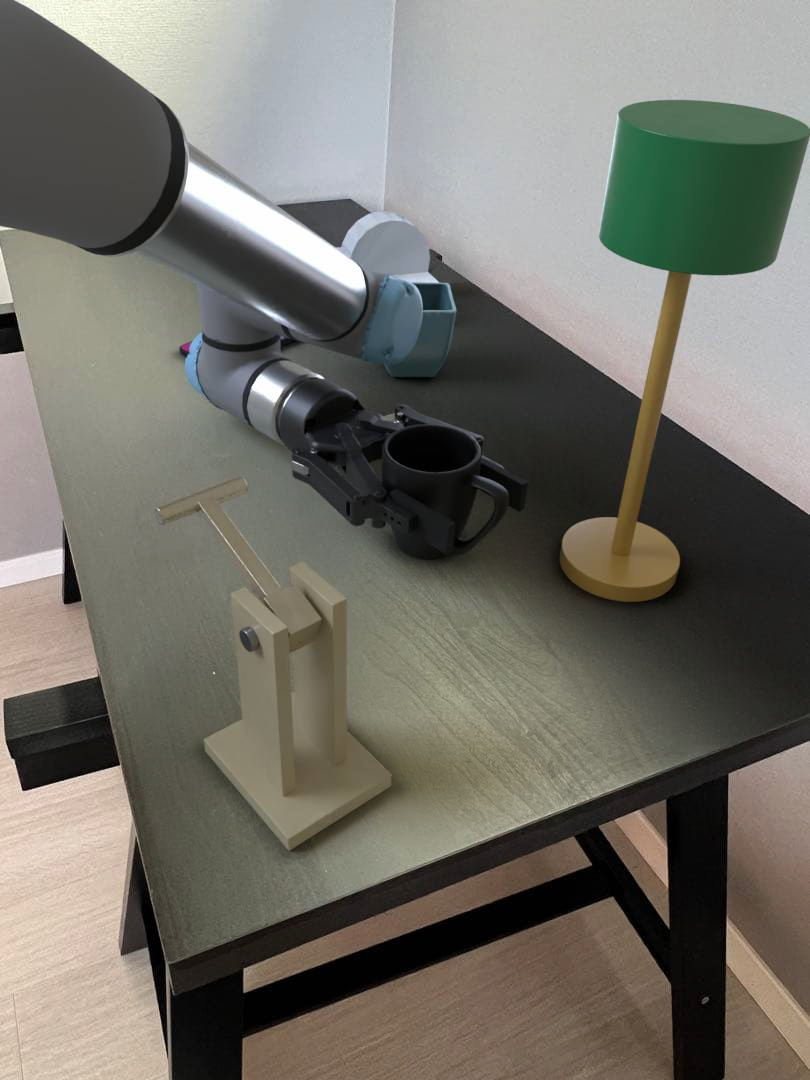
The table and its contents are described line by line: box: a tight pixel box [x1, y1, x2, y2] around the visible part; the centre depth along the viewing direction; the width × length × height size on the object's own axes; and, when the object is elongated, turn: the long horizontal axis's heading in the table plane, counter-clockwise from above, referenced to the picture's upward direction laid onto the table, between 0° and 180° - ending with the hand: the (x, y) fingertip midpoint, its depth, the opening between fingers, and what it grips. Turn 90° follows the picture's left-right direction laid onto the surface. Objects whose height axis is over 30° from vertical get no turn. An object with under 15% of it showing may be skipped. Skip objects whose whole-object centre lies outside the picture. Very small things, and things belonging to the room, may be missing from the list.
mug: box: [381, 424, 509, 560], centre depth 80 cm, size 8×12×10 cm
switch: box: [153, 475, 322, 655], centre depth 57 cm, size 12×6×2 cm, turn 40°
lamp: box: [559, 99, 810, 603], centre depth 71 cm, size 12×12×36 cm
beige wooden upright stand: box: [203, 561, 392, 852], centre depth 58 cm, size 10×8×15 cm
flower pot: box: [384, 282, 457, 378], centre depth 108 cm, size 9×9×9 cm
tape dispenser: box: [335, 210, 440, 283], centre depth 124 cm, size 20×11×11 cm, turn 21°
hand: (488, 517), depth 76 cm, fingers closed on mug, 8 cm apart
